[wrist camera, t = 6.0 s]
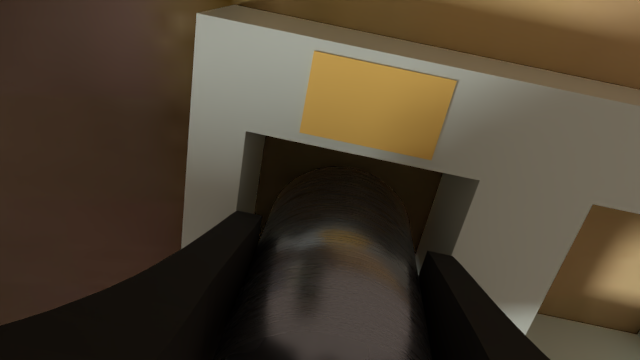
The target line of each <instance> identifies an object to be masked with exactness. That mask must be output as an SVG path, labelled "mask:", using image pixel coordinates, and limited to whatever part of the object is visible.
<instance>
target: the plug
mask: <svg viewBox="0 0 640 360" xmlns="http://www.w3.org/2000/svg"><path fill="white" fill-rule="evenodd" d="M213 360H432V355H431V349H430V343H429V337H428V331H427V325H426V319H425V313H424V307H423V301H422V295H421V289H420V283H419V278H418V272H417V266H416V260H415V254H414V248H413V242H412V236H411V230H410V224H409V219H408V215H407V212H406V209H405V207H404V205H403V203H402V201H401V200H400V198H399V197H398V195H397V194H396V193H395V192H394V190H392V189H391V188H390V187H389V186H388V185H387V184H386V183H384V182H383V181H382V180H380V179H379V178H377V177H375V176H373V175H371V174H369V173H366V172H364V171H361V170H357V169H353V168H346V167H328V168H321V169H317V170H313V171H310V172H308V173H305V174H303V175H301V176H299V177H297V178H296V179H295V180H293V181H292V182H290V183H289V184H288V185H287V186H286V187H285V188H284V189H283V190H282V191H281V193H280V194H279V195H278V197H277V199H276V200H275V202H274V205H273V207H272V210H271V212H270V215H269V217H268V220H267V222H266V225H265V227H264V230H263V233H262V235H261V238H260V240H259V243H258V245H257V248H256V250H255V253H254V256H253V258H252V261H251V263H250V266H249V268H248V271H247V273H246V276H245V278H244V281H243V283H242V286H241V288H240V291H239V294H238V296H237V299H236V301H235V304H234V306H233V309H232V311H231V314H230V316H229V319H228V321H227V324H226V327H225V329H224V332H223V334H222V337H221V339H220V342H219V344H218V347H217V349H216V352H215V355H214V357H213Z"/></svg>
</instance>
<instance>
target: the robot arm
mask: <svg viewBox="0 0 640 360" xmlns="http://www.w3.org/2000/svg"><path fill="white" fill-rule="evenodd" d="M261 220H262V216H261V215H256V214H251V213H247V212H242V211H235V212H234V213H232V214H231V215H229V216H228V217H226V218H225V219H224V220H222V221H221V222H220V223H218V224H217V225H216V226H214V227H213V228H211V229H210V230H209V231H207V232H206V233H204V234H203V235H202V236H200V237H199V238H197V239H196V240H194V241H193V242H191V243H190V244H188V245H187V246H185V247H184V248H182V249H181V250H179V251H177V252H176V253H174V254H172V255H171V256H169V257H167V258H166V259H164V260H162V261H161V262H159V263H157V264H156V265H154V266H152V267H150V268H149V269H147V270H145V271H143V272H141V273H139V274H137V275H135V276H133V277H131V278H129V279H127V280H125V281H122V282H120V283H118V284H116V285H114V286H112V287H109V288H107V289H105V290H102V291H100V292H97V293H95V294H92V295H90V296H87V297H84V298H82V299H79V300H77V301H74V302H71V303H69V304H66V305H63V306H61V307H58V308H56V309H53V310H50V311H47V312H44V313H41V314H38V315H34V316H31V317H28V318H25V319H22V320H19V321H15V322H12V323H8V324H5V325H1V326H0V360H213V357H214V355H215V352H216V349H217V347H218V344H219V342H220V339H221V337H222V334H223V332H224V329H225V327H226V324H227V321H228V319H229V316H230V314H231V311H232V309H233V306H234V304H235V301H236V299H237V296H238V294H239V291H240V288H241V286H242V283H243V281H244V278H245V276H246V273H247V271H248V268H249V266H250V263H251V261H252V258H253V256H254V253H255V250H256V248H257V245H258V239H259V233H260V226H261ZM418 278H419V283H420V289H421V295H422V301H423V307H424V313H425V319H426V325H427V331H428V337H429V343H430V349H431V355H432V360H550V359H549V358H548V357H547V356H546V355H545V354H544V353H543V352H542V351H541V350H540V349H539V348H538V347H537V346H536V345H535V344H534V343H533V342H532V341H531V340H530V339H529V338H528V337H527V336H526V335H525V334H524V333H523V332H522V331H521V330H520V329H519V328H518V327H517V326H516V325H515V324H514V323H513V322H512V321H511V320H510V319H509V318H508V317H507V316H506V314H505V313H504V312H503V311H502V310H501V309H500V308H499V307H498V306H497V305H496V303H495V302H494V301H493V300H492V299H491V298H490V297H489V296H488V295H487V293H486V292H485V291H484V290H483V289H482V288H481V287H480V285H479V284H478V283H477V282H476V281H475V280H474V279H473V277H472V276H471V275H470V274H469V273H468V272H467V271H466V269H465V268H464V267H463V266H462V265H461V264H460V263H459V262H458V261H457V260H456V259H455V258H454V257H453V256H451V255H446V254H441V253H436V252H432V251H427V253H426V256H425V259H424V261H423V264H422V267H421V270H420V273H419V276H418Z"/></svg>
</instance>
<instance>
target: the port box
mask: <svg viewBox="0 0 640 360" xmlns="http://www.w3.org/2000/svg"><path fill="white" fill-rule="evenodd" d="M265 136H271V137H275V138H280V139H285V140H290V141H294V142H299V143H304V144H309V145H313V146H318V147H323V148H328V149H332V150H337V151H342V152H347V153H351V154H356V155H361V156H366V157H370V158H375V159H380V160H385V161H389V162H394V163H399V164H404V165H408V166H413V167H418V168H423V169H427V170H432V171H437V172H442V173H443V175H442V178H441V181H440V184H439V187H438V190H437V192H436V195H435V198H434V201H433V204H432V207H431V210H430V213H429V216H428V219H427V222H426V225H425V228H424V231H423V234H422V237H421V240H420V243H419V246H418V249H417V252H416V255H415V260H416V266H417V272H418V276H419V273H420V270H421V267H422V264H423V261H424V259H425V256H426V253H427V251H432V252H436V253H441V254H446V255H451V256H453V257H454V258H455V259H456V260H457V261H458V262H459V263H460V264H461V265H462V266H463V267H464V268H465V269H466V271H467V272H468V273H469V274H470V275H471V276H472V277H473V279H474V280H475V281H476V282H477V283H478V284H479V285H480V287H481V288H482V289H483V290H484V291H485V292H486V293H487V295H488V296H489V297H490V298H491V299H492V300H493V301H494V302H495V303H496V305H497V306H498V307H499V308H500V309H501V310H502V311H503V312H504V313H505V314H506V316H507V317H508V318H509V319H510V320H511V321H512V322H513V323H514V324H515V325H516V326H517V327H518V328H519V329H520V330H521V331H522V332H523V333H524V334H525V335H526V336H527V337H528V338H529V339H530V340H531V341H532V342H533V343H534V344H535V345H536V346H537V347H538V348H539V349H540V350H541V351H542V352H543V353H544V354H545V355H546V356H547V357H548V358H549V359H550V360H640V331H639V332H638V334H632V333H628V332H623V331H618V330H613V329H609V328H604V327H599V326H595V325H590V324H585V323H580V322H576V321H571V320H566V319H561V318H557V317H552V316H547V315H542V314H538V313H537V312H538V310H539V308H540V306H541V304H542V302H543V300H544V298H545V296H546V294H547V292H548V290H549V288H550V286H551V285H552V283H553V281H554V279H555V277H556V275H557V273H558V271H559V269H560V267H561V265H562V263H563V261H564V259H565V257H566V255H567V253H568V251H569V250H570V248H571V246H572V244H573V242H574V240H575V238H576V236H577V234H578V232H579V230H580V228H581V226H582V224H583V222H584V220H585V218H586V216H587V215H588V213H589V211H590V209H591V207H592V205H593V204H594V205H598V206H603V207H608V208H613V209H617V210H622V211H627V212H632V213H636V214H640V90H639V89H634V88H629V87H625V86H620V85H615V84H610V83H606V82H601V81H596V80H591V79H587V78H582V77H577V76H572V75H568V74H563V73H558V72H553V71H548V70H544V69H539V68H534V67H529V66H525V65H520V64H515V63H510V62H506V61H501V60H496V59H491V58H487V57H482V56H477V55H472V54H467V53H463V52H458V51H453V50H448V49H444V48H439V47H434V46H429V45H425V44H420V43H415V42H410V41H406V40H401V39H396V38H391V37H387V36H382V35H377V34H372V33H367V32H363V31H358V30H353V29H348V28H344V27H339V26H334V25H329V24H325V23H320V22H315V21H310V20H306V19H301V18H296V17H291V16H286V15H282V14H277V13H272V12H267V11H263V10H258V9H253V8H248V7H244V6H239V5H231V6H227V7H222V8H218V9H213V10H208V11H204V12H199V13H197V15H196V31H195V46H194V61H193V76H192V91H191V106H190V121H189V136H188V151H187V166H186V182H185V197H184V212H183V227H182V242H181V249H182V248H184V247H185V246H187V245H188V244H190V243H191V242H193V241H194V240H196V239H197V238H199V237H200V236H202V235H203V234H204V233H206V232H207V231H209V230H210V229H211V228H213V227H214V226H216V225H217V224H218V223H220V222H221V221H222V220H224V219H225V218H226V217H228V216H229V215H231V214H232V213H234V212H235V211H242V212H247V213H251V214H254V212H255V205H256V198H257V191H258V184H259V177H260V170H261V164H262V157H263V150H264V143H265Z"/></svg>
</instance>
